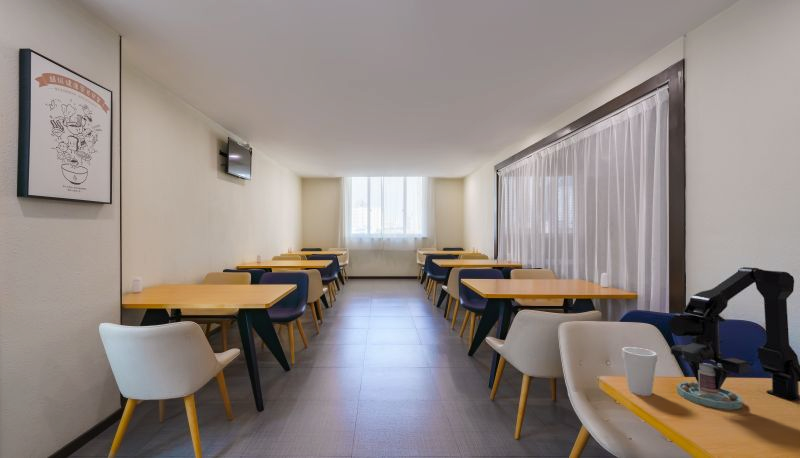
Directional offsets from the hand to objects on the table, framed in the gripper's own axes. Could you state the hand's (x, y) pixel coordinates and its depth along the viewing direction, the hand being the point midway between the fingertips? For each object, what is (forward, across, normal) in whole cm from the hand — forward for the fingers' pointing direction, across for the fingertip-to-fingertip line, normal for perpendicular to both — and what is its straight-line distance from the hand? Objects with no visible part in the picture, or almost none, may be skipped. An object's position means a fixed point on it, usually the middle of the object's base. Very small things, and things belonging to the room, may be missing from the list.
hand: (708, 385), depth 109 cm
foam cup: (+4, -10, -16) cm, 19 cm away
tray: (+4, 0, 0) cm, 4 cm away
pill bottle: (+2, 0, 0) cm, 2 cm away
